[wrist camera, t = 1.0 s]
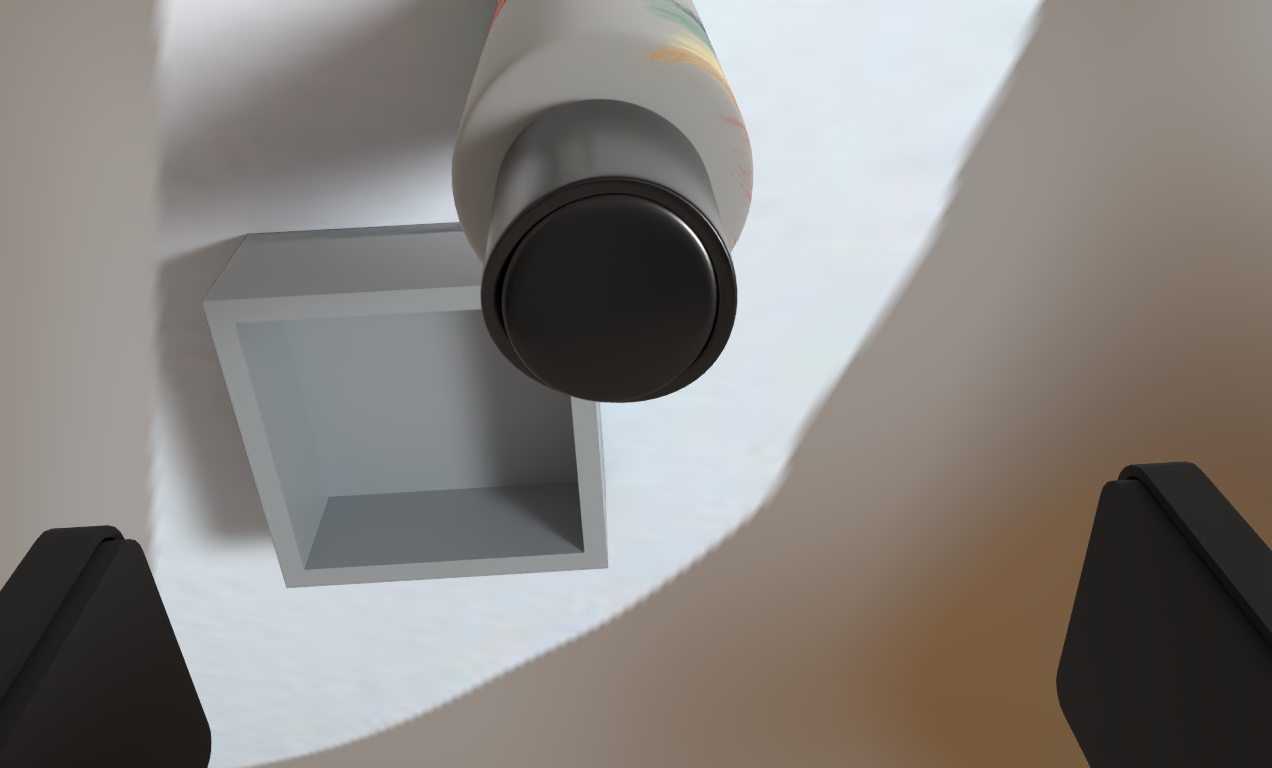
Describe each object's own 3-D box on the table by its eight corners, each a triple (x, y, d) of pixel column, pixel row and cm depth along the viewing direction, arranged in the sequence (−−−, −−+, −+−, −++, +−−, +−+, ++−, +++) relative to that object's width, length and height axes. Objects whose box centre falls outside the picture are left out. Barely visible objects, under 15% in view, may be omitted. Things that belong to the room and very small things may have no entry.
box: (247, 234, 35) (201, 301, 31) (586, 215, 35) (587, 279, 31) (317, 501, 41) (286, 588, 37) (605, 483, 41) (608, 568, 37)
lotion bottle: (476, 61, 32) (362, 407, 15) (541, -123, 30) (488, 52, 13) (641, 129, 34) (703, 516, 17) (717, -40, 31) (880, 216, 14)
